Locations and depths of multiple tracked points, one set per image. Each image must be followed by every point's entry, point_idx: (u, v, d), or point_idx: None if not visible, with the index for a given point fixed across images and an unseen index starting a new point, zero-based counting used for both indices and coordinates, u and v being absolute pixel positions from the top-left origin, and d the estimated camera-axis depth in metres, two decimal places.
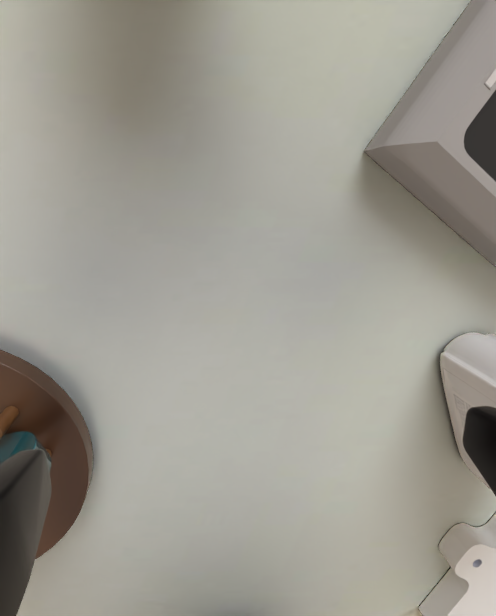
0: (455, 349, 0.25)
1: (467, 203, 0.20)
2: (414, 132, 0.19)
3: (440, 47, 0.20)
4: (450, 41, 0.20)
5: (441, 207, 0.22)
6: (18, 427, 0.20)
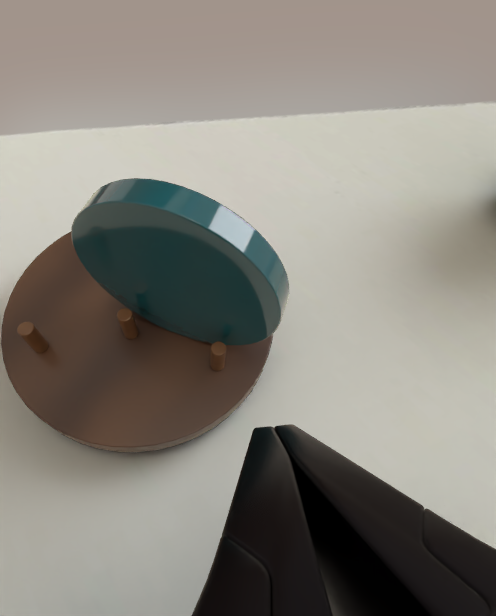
0: None
1: None
2: None
3: None
4: None
5: None
6: None
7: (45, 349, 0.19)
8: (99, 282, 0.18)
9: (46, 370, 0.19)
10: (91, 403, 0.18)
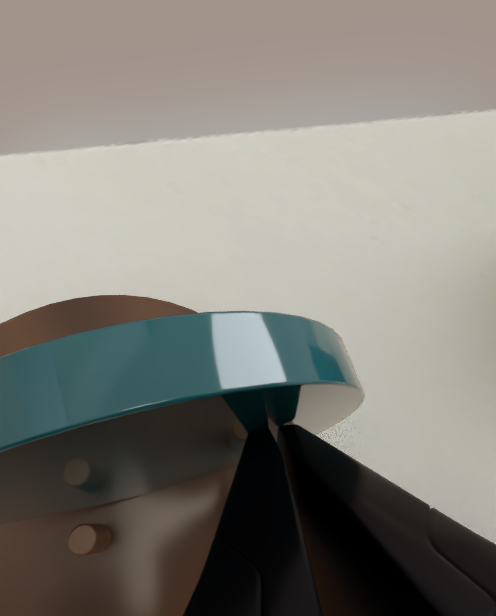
0: None
1: None
2: None
3: None
4: None
5: None
6: None
7: None
8: (3, 522, 0.09)
9: None
10: None
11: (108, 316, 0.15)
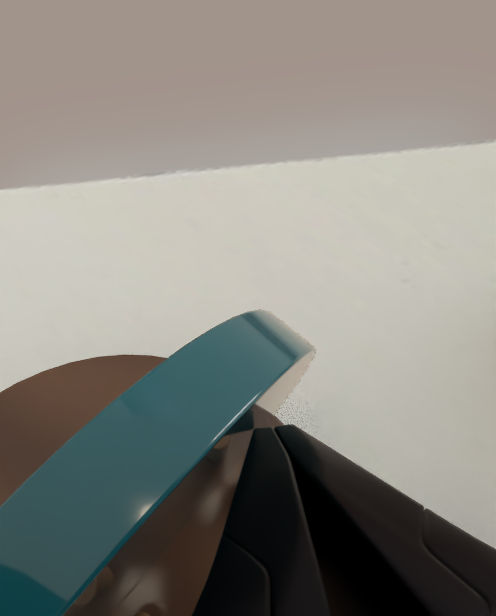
0: None
1: None
2: None
3: None
4: None
5: None
6: None
7: None
8: None
9: None
10: None
11: (13, 415, 0.13)
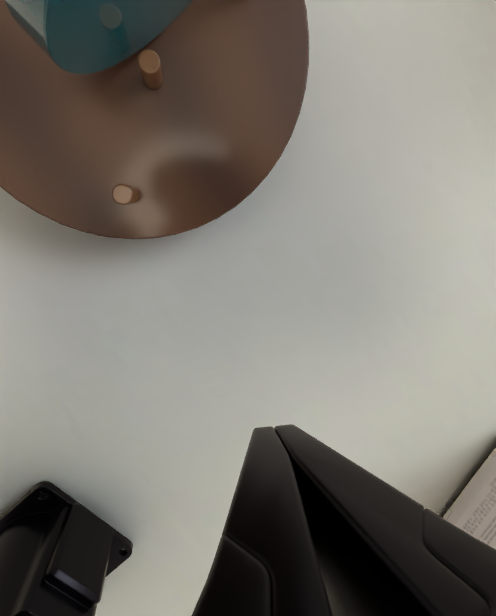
0: None
1: None
2: None
3: None
4: None
5: None
6: None
7: (136, 190, 0.15)
8: (91, 68, 0.12)
9: (163, 197, 0.16)
10: (224, 161, 0.16)
11: None
